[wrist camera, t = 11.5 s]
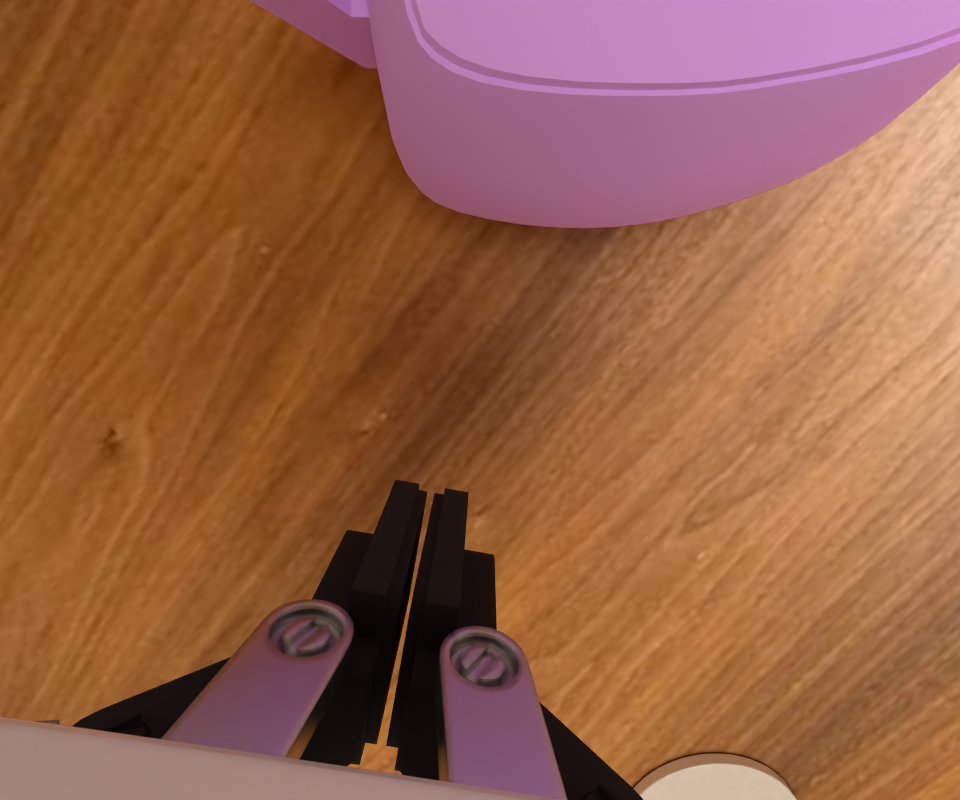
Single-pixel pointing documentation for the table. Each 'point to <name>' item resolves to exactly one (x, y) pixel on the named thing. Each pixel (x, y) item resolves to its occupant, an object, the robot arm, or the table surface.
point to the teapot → (630, 95)
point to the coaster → (714, 780)
